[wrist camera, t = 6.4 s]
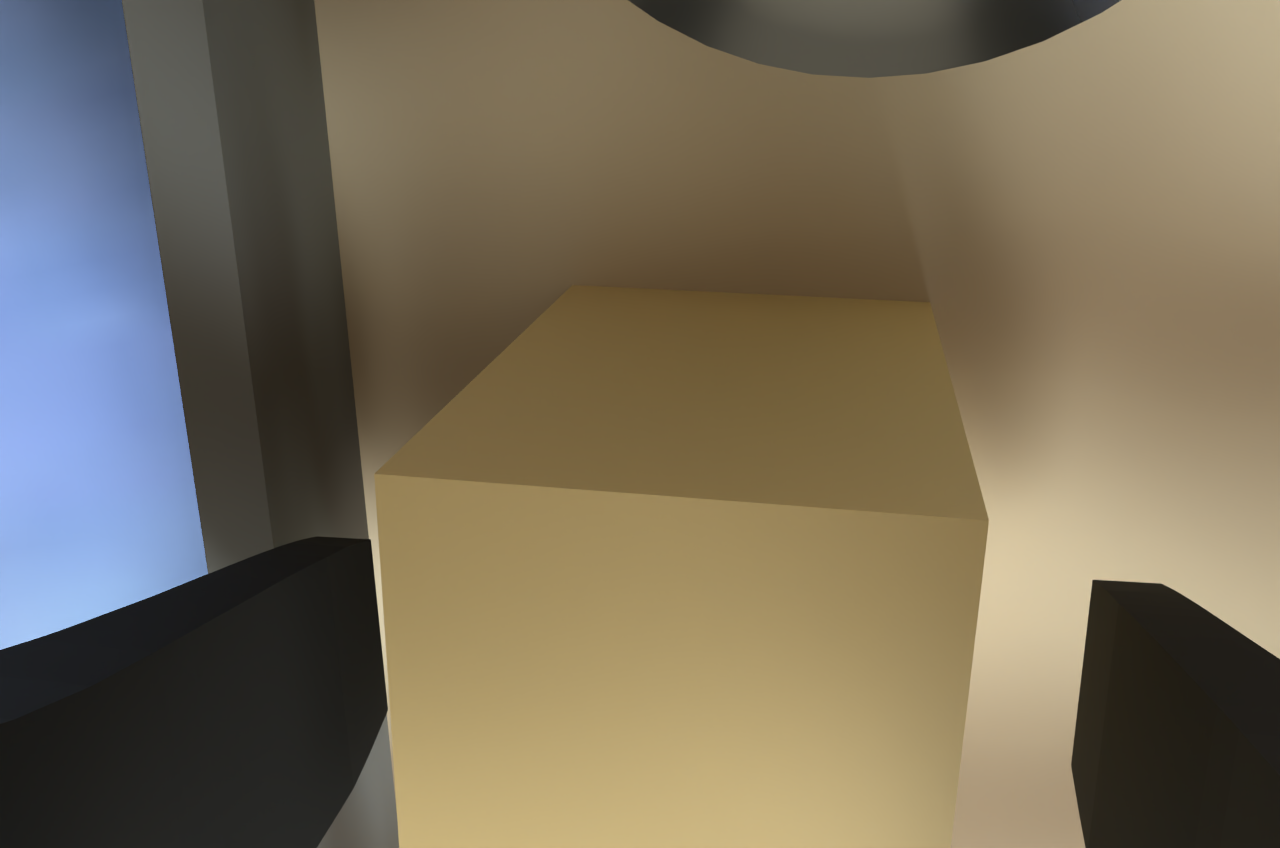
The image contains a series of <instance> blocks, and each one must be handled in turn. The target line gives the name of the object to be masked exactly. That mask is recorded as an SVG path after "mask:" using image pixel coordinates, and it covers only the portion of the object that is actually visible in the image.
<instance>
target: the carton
mask: <svg viewBox="0 0 1280 848" xmlns="http://www.w3.org/2000/svg"><path fill="white" fill-rule="evenodd" d="M374 479H375V494H376V509H377V524H378V539H379V554H380V569H381V583H382V598H383V613H384V628H385V643H386V658H387V673H388V688H389V703H390V718H391V732H392V747H393V762H394V777H395V792H396V807H397V822H398V837H399V848H951V840H952V832H953V823H954V815H955V806H956V798H957V789H958V781H959V772H960V764H961V755H962V747H963V738H964V730H965V721H966V713H967V704H968V696H969V687H970V679H971V670H972V662H973V653H974V645H975V636H976V628H977V619H978V611H979V602H980V594H981V585H982V577H983V568H984V560H985V552H986V543H987V535H988V526H989V518H988V515H987V511H986V507H985V503H984V500H983V496H982V492H981V489H980V485H979V481H978V478H977V474H976V470H975V467H974V463H973V459H972V455H971V452H970V448H969V444H968V441H967V437H966V433H965V430H964V426H963V422H962V418H961V415H960V411H959V407H958V404H957V400H956V396H955V393H954V389H953V385H952V382H951V378H950V374H949V370H948V367H947V363H946V359H945V356H944V352H943V348H942V345H941V341H940V337H939V334H938V330H937V326H936V322H935V319H934V315H933V311H932V308H931V304H930V302H911V301H891V300H870V299H849V298H829V297H808V296H787V295H767V294H746V293H725V292H705V291H684V290H664V289H643V288H622V287H602V286H581V285H572V286H571V287H570V288H569V289H568V290H567V291H566V292H565V293H564V294H563V295H561V296H560V297H559V298H558V299H557V300H556V301H555V302H554V303H553V304H552V305H551V306H550V307H549V308H548V309H547V310H546V311H545V312H544V313H543V314H542V315H540V316H539V317H538V318H537V319H536V320H535V321H534V322H533V323H532V324H531V325H530V326H529V327H528V328H527V329H526V330H525V331H524V332H523V333H522V334H521V335H519V336H518V337H517V338H516V339H515V340H514V341H513V342H512V343H511V344H510V345H509V346H508V347H507V348H506V349H505V350H504V351H503V352H502V353H501V354H500V355H498V356H497V357H496V358H495V359H494V360H493V361H492V362H491V363H490V364H489V365H488V366H487V367H486V368H485V369H484V370H483V371H482V372H481V373H480V374H479V375H477V376H476V377H475V378H474V379H473V380H472V381H471V382H470V383H469V384H468V385H467V386H466V387H465V388H464V389H463V390H462V391H461V392H460V393H459V394H458V395H456V396H455V397H454V398H453V399H452V400H451V401H450V402H449V403H448V404H447V405H446V406H445V407H444V408H443V409H442V410H441V411H440V412H439V413H438V414H437V415H435V416H434V417H433V418H432V419H431V420H430V421H429V422H428V423H427V424H426V425H425V426H424V427H423V428H422V429H421V430H420V431H419V432H418V433H417V434H416V435H414V436H413V437H412V438H411V439H410V440H409V441H408V442H407V443H406V444H405V445H404V446H403V447H402V448H401V449H400V450H399V451H398V452H397V453H396V454H395V455H393V456H392V457H391V458H390V459H389V460H388V461H387V462H386V463H385V464H384V465H383V466H382V467H381V468H380V469H379V470H378V471H377V472H376V473H375V474H374Z"/></svg>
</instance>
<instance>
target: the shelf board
mask: <svg viewBox="0 0 1280 848" xmlns="http://www.w3.org/2000/svg"><path fill="white" fill-rule="evenodd" d="M122 5H123V12H124V19H125V25H126V32H127V38H128V45H129V52H130V58H131V65H132V72H133V78H134V85H135V91H136V98H137V105H138V111H139V118H140V124H141V131H142V138H143V144H144V151H145V158H146V164H147V171H148V177H149V184H150V191H151V197H152V204H153V211H154V217H155V224H156V230H157V237H158V244H159V250H160V257H161V263H162V270H163V277H164V283H165V290H166V297H167V303H168V310H169V316H170V323H171V330H172V336H173V343H174V350H175V356H176V363H177V369H178V376H179V383H180V389H181V396H182V402H183V409H184V416H185V422H186V429H187V436H188V442H189V449H190V455H191V462H192V469H193V475H194V482H195V489H196V495H197V502H198V508H199V515H200V522H201V528H202V535H203V541H204V548H205V555H206V561H207V568H208V574H209V573H212V572H214V571H217V570H219V569H222V568H224V567H227V566H229V565H232V564H234V563H237V562H239V561H242V560H244V559H247V558H249V557H252V556H255V555H257V554H260V553H262V552H265V551H268V550H271V549H273V548H276V547H279V546H282V545H285V544H288V543H291V542H295V541H298V540H302V539H307V538H311V537H316V536H319V537H337V538H355V539H371V546H372V556H373V565H374V575H375V585H376V595H377V605H378V615H379V625H380V635H381V645H382V655H383V664H384V674H385V684H386V694H387V704H388V711H387V714H386V716H385V719H384V721H383V723H382V726H381V728H380V731H379V733H378V735H377V738H376V740H375V743H374V745H373V747H372V750H371V752H370V754H369V757H368V759H367V761H366V763H365V765H364V767H363V769H362V772H361V774H360V776H359V778H358V780H357V782H356V784H355V787H354V789H353V790H352V792H351V794H350V795H349V797H348V799H347V800H346V802H345V804H344V805H343V807H342V809H341V810H340V812H339V813H338V815H337V817H336V818H335V820H334V821H333V823H332V824H331V826H330V828H329V829H328V831H327V832H326V834H325V836H324V837H323V839H322V840H321V842H320V844H319V845H318V847H317V848H399V837H398V822H397V807H396V792H395V777H394V762H393V747H392V732H391V718H390V703H389V688H388V673H387V658H386V643H385V628H384V613H383V598H382V583H381V569H380V554H379V539H378V524H377V509H376V494H375V479H374V474H375V473H376V472H377V471H378V470H379V469H380V468H381V467H382V466H383V465H384V464H385V463H386V462H387V461H388V460H389V459H390V458H391V457H392V456H393V455H395V454H396V453H397V452H398V451H399V450H400V449H401V448H402V447H403V446H404V445H405V444H406V443H407V442H408V441H409V440H410V439H411V438H412V437H413V436H414V435H416V434H417V433H418V432H419V431H420V430H421V429H422V428H423V427H424V426H425V425H426V424H427V423H428V422H429V421H430V420H431V419H432V418H433V417H434V416H435V415H437V414H438V413H439V412H440V411H441V410H442V409H443V408H444V407H445V406H446V405H447V404H448V403H449V402H450V401H451V400H452V399H453V398H454V397H455V396H456V395H458V394H459V393H460V392H461V391H462V390H463V389H464V388H465V387H466V386H467V385H468V384H469V383H470V382H471V381H472V380H473V379H474V378H475V377H476V376H477V375H479V374H480V373H481V372H482V371H483V370H484V369H485V368H486V367H487V366H488V365H489V364H490V363H491V362H492V361H493V360H494V359H495V358H496V357H497V356H498V355H500V354H501V353H502V352H503V351H504V350H505V349H506V348H507V347H508V346H509V345H510V344H511V343H512V342H513V341H514V340H515V339H516V338H517V337H518V336H519V335H521V334H522V333H523V332H524V331H525V330H526V329H527V328H528V327H529V326H530V325H531V324H532V323H533V322H534V321H535V320H536V319H537V318H538V317H539V316H540V315H542V314H543V313H544V312H545V311H546V310H547V309H548V308H549V307H550V306H551V305H552V304H553V303H554V302H555V301H556V300H557V299H558V298H559V297H560V296H561V295H563V294H564V293H565V292H566V291H567V290H568V289H569V288H570V287H571V286H572V285H581V286H602V287H622V288H643V289H664V290H684V291H705V292H725V293H746V294H767V295H787V296H808V297H829V298H849V299H870V300H891V301H911V302H930V304H931V308H932V311H933V315H934V319H935V322H936V326H937V330H938V334H939V337H940V341H941V345H942V348H943V352H944V356H945V359H946V363H947V367H948V370H949V374H950V378H951V382H952V385H953V389H954V393H955V396H956V400H957V404H958V407H959V411H960V415H961V418H962V422H963V426H964V430H965V433H966V437H967V441H968V444H969V448H970V452H971V455H972V459H973V463H974V467H975V470H976V474H977V478H978V481H979V485H980V489H981V492H982V496H983V500H984V503H985V507H986V511H987V515H988V518H989V526H988V535H987V543H986V552H985V560H984V568H983V577H982V585H981V594H980V602H979V611H978V619H977V628H976V636H975V645H974V653H973V662H972V670H971V679H970V687H969V696H968V704H967V713H966V721H965V730H964V738H963V747H962V755H961V764H960V772H959V781H958V789H957V798H956V806H955V815H954V823H953V832H952V840H951V848H1085V843H1084V837H1083V832H1082V827H1081V821H1080V816H1079V810H1078V804H1077V798H1076V792H1075V786H1074V780H1073V774H1072V768H1071V761H1072V752H1073V744H1074V735H1075V726H1076V718H1077V709H1078V701H1079V692H1080V683H1081V675H1082V666H1083V657H1084V649H1085V640H1086V632H1087V623H1088V614H1089V606H1090V597H1091V589H1092V580H1108V581H1126V582H1144V583H1161V584H1163V585H1165V586H1167V587H1169V588H1171V589H1173V590H1175V591H1177V592H1179V593H1180V594H1182V595H1184V596H1185V597H1187V598H1189V599H1190V600H1192V601H1193V602H1195V603H1196V604H1198V605H1199V606H1201V607H1203V608H1204V609H1206V610H1207V611H1209V612H1210V613H1212V614H1213V615H1215V616H1216V617H1218V618H1219V619H1221V620H1222V621H1224V622H1225V623H1227V624H1228V625H1230V626H1231V627H1233V628H1234V629H1236V630H1237V631H1239V632H1240V633H1241V634H1243V635H1244V636H1246V637H1247V638H1249V639H1250V640H1252V641H1253V642H1255V643H1256V644H1258V645H1259V646H1261V647H1262V648H1264V649H1265V650H1267V651H1268V652H1270V653H1271V654H1273V655H1274V656H1276V657H1277V658H1279V659H1280V0H1121V1H1119V2H1118V3H1116V4H1115V5H1113V6H1112V7H1110V8H1109V9H1107V10H1105V11H1104V12H1102V13H1100V14H1098V15H1096V16H1094V17H1092V18H1090V19H1088V20H1086V21H1084V22H1082V23H1080V24H1078V25H1076V26H1074V27H1072V28H1070V29H1068V30H1066V31H1064V32H1061V33H1059V34H1057V35H1055V36H1053V37H1051V38H1049V39H1047V40H1045V41H1043V42H1040V43H1037V44H1034V45H1031V46H1028V47H1025V48H1022V49H1019V50H1017V51H1014V52H1011V53H1008V54H1005V55H1002V56H999V57H996V58H993V59H990V60H988V61H984V62H980V63H975V64H970V65H965V66H960V67H956V68H951V69H946V70H941V71H936V72H932V73H927V74H914V75H901V76H887V77H874V78H863V77H845V76H828V75H812V74H807V73H802V72H797V71H792V70H787V69H782V68H777V67H772V66H767V65H762V64H758V63H755V62H752V61H749V60H746V59H743V58H740V57H737V56H734V55H731V54H729V53H726V52H723V51H720V50H717V49H714V48H711V47H708V46H706V45H704V44H702V43H700V42H698V41H696V40H694V39H692V38H690V37H688V36H686V35H684V34H682V33H680V32H678V31H676V30H674V29H672V28H670V27H669V26H667V25H665V24H663V23H661V22H659V21H657V20H656V19H654V18H653V17H651V16H650V15H648V14H647V13H646V12H644V11H643V10H641V9H640V8H638V7H637V6H635V5H634V4H633V3H631V2H630V1H628V0H122Z"/></svg>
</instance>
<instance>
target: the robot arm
mask: <svg viewBox="0 0 1280 848" xmlns="http://www.w3.org/2000/svg"><path fill="white" fill-rule="evenodd" d="M387 711H388V704H387V694H386V684H385V674H384V664H383V655H382V645H381V635H380V625H379V615H378V605H377V595H376V585H375V575H374V565H373V556H372V546H371V539H355V538H337V537H319V536H316V537H311V538H307V539H302V540H298V541H295V542H291V543H288V544H285V545H282V546H279V547H276V548H273V549H271V550H268V551H265V552H262V553H260V554H257V555H255V556H252V557H249V558H247V559H244V560H242V561H239V562H237V563H234V564H232V565H229V566H227V567H224V568H222V569H219V570H217V571H214V572H212V573H209V574H207V575H204V576H202V577H199V578H197V579H194V580H192V581H189V582H187V583H185V584H182V585H180V586H177V587H175V588H172V589H170V590H167V591H165V592H162V593H160V594H157V595H155V596H152V597H150V598H147V599H144V600H142V601H139V602H136V603H134V604H131V605H128V606H126V607H123V608H120V609H117V610H115V611H112V612H109V613H107V614H104V615H101V616H99V617H96V618H93V619H91V620H88V621H85V622H82V623H80V624H77V625H74V626H72V627H69V628H66V629H64V630H61V631H58V632H55V633H52V634H49V635H46V636H43V637H40V638H37V639H34V640H31V641H28V642H25V643H21V644H18V645H15V646H12V647H9V648H6V649H2V650H0V848H317V847H318V845H319V844H320V842H321V840H322V839H323V837H324V836H325V834H326V832H327V831H328V829H329V828H330V826H331V824H332V823H333V821H334V820H335V818H336V817H337V815H338V813H339V812H340V810H341V809H342V807H343V805H344V804H345V802H346V800H347V799H348V797H349V795H350V794H351V792H352V790H353V789H354V787H355V784H356V782H357V780H358V778H359V776H360V774H361V772H362V769H363V767H364V765H365V763H366V761H367V759H368V757H369V754H370V752H371V750H372V747H373V745H374V743H375V740H376V738H377V735H378V733H379V731H380V728H381V726H382V723H383V721H384V719H385V716H386V714H387ZM1071 768H1072V774H1073V780H1074V786H1075V792H1076V798H1077V804H1078V810H1079V816H1080V821H1081V827H1082V832H1083V837H1084V843H1085V848H1280V659H1279V658H1277V657H1276V656H1274V655H1273V654H1271V653H1270V652H1268V651H1267V650H1265V649H1264V648H1262V647H1261V646H1259V645H1258V644H1256V643H1255V642H1253V641H1252V640H1250V639H1249V638H1247V637H1246V636H1244V635H1243V634H1241V633H1240V632H1239V631H1237V630H1236V629H1234V628H1233V627H1231V626H1230V625H1228V624H1227V623H1225V622H1224V621H1222V620H1221V619H1219V618H1218V617H1216V616H1215V615H1213V614H1212V613H1210V612H1209V611H1207V610H1206V609H1204V608H1203V607H1201V606H1199V605H1198V604H1196V603H1195V602H1193V601H1192V600H1190V599H1189V598H1187V597H1185V596H1184V595H1182V594H1180V593H1179V592H1177V591H1175V590H1173V589H1171V588H1169V587H1167V586H1165V585H1163V584H1161V583H1144V582H1126V581H1108V580H1092V589H1091V597H1090V606H1089V614H1088V623H1087V632H1086V640H1085V649H1084V657H1083V666H1082V675H1081V683H1080V692H1079V701H1078V709H1077V718H1076V726H1075V735H1074V744H1073V752H1072V761H1071Z"/></svg>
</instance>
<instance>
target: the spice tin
mask: <svg viewBox="0 0 1280 848" xmlns="http://www.w3.org/2000/svg"><path fill="white" fill-rule="evenodd" d="M628 1H630V2H631V3H633V4H634V5H635V6H637V7H638V8H640V9H641V10H643V11H644V12H646V13H647V14H648V15H650V16H651V17H653V18H654V19H656V20H657V21H659V22H661V23H663V24H665V25H667V26H669V27H670V28H672V29H674V30H676V31H678V32H680V33H682V34H684V35H686V36H688V37H690V38H692V39H694V40H696V41H698V42H700V43H702V44H704V45H706V46H708V47H711V48H714V49H717V50H720V51H723V52H726V53H729V54H731V55H734V56H737V57H740V58H743V59H746V60H749V61H752V62H755V63H758V64H762V65H767V66H772V67H777V68H782V69H787V70H792V71H797V72H802V73H807V74H812V75H828V76H845V77H863V78H874V77H887V76H901V75H914V74H927V73H932V72H936V71H941V70H946V69H951V68H956V67H960V66H965V65H970V64H975V63H980V62H984V61H988V60H990V59H993V58H996V57H999V56H1002V55H1005V54H1008V53H1011V52H1014V51H1017V50H1019V49H1022V48H1025V47H1028V46H1031V45H1034V44H1037V43H1040V42H1043V41H1045V40H1047V39H1049V38H1051V37H1053V36H1055V35H1057V34H1059V33H1061V32H1064V31H1066V30H1068V29H1070V28H1072V27H1074V26H1076V25H1078V24H1080V23H1082V22H1084V21H1086V20H1088V19H1090V18H1092V17H1094V16H1096V15H1098V14H1100V13H1102V12H1104V11H1105V10H1107V9H1109V8H1110V7H1112V6H1113V5H1115V4H1116V3H1118V2H1119V1H1121V0H628Z"/></svg>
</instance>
